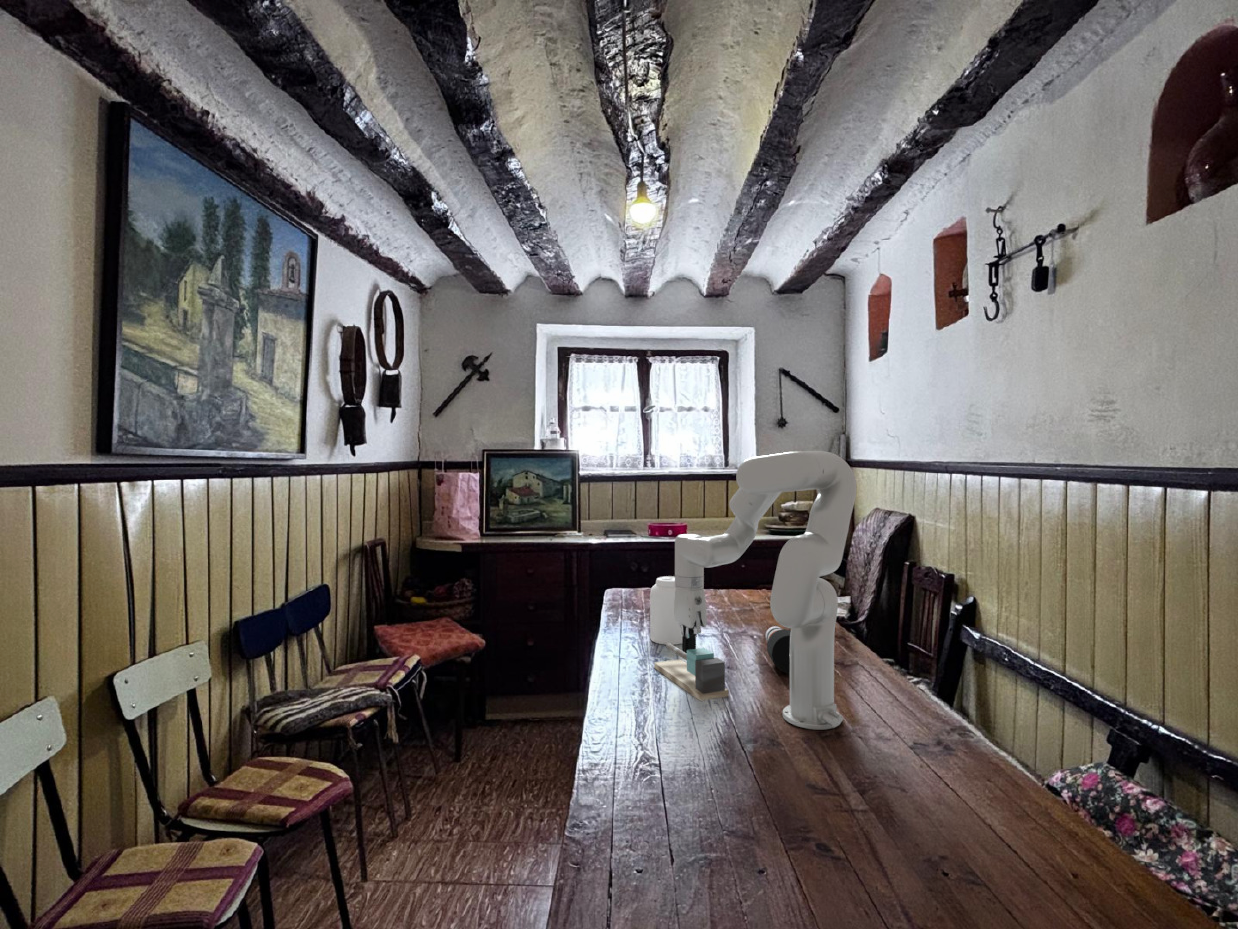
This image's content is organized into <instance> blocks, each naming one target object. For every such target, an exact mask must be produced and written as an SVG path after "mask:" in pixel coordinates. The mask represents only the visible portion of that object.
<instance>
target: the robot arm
mask: <svg viewBox="0 0 1238 929" xmlns="http://www.w3.org/2000/svg"><path fill="white" fill-rule="evenodd" d="M735 476H736V478H735V479H736V484H737V486H738V487H739V488H738V489H737V490H736V492H735V493H734V494H733V495H732V497H731V498H730V500H729V502H728V503H729V504H728V505H729V510H730V511H731V512H732V513H733V515H734V516H735V517H734V519H733V521H732V522H731V523H730V525H729V527H728V528H726V531H724V532H723V534H718V535H713V536H708V537H707V536H706V537H703V536H702V535H700V534H696V533H683V534H678V535H677V536H676V537H675V540H674V577H675V588H676V589H675V601H674V617H675V620H676V621H677V622H678V624H679V626H680V627H681V634H682V644H681V650H682V651H683V652H685V653H687V650H690V649H697V636H698V634H701V633H702V627H703V628H706V626H707V623H708V621H707V618H708V617H707V615H708V614H707V613H708V612H707V601H706V592H705V589H704V586H705V585H704V584H705V582H704V581H705V575H704V574H705V572H704V571H705V570H704V569H705V568H714V567H720V566H722V565H723V566H724V565H728V564H732V563H734V562H736V561H737V560H739V559H740V558H741V556H742V555H743V554H744V553H745V552H746V550H747V549H748V548H749V546H750V545H752V543H753V541H754V540H755V538H756V536H757V532H758V529H759V522H760V520H761V519H762V518H764V515H765V514H766V513H767V512H768V510H769V509H770V508H771V507H772V505H773V504H774V502H776V500H777V499H778V497H779V496H780V495H781V494H782V493H787V492H800V491H813V490H816V491H817V495H816V498H815V500H814V502H813V504H811V505H812V506H811V509H810V511H809V517H808V522H807V525H806V526H807V527H806V529H805V530H804V531H805V532H804V533H803V534H799V535H795V536H794V537H793V536H792V537H791V538H790V539H789V540H787V541H786V543H785V544H784V545H783V546H782V548H781V550H780V553H779V555H778V558H777V564H776V570H775V573H774V578H773V583H772V588H771V594H770V598H769V599H770V600H769V601H770V602H769V603H770V604H769V605H770V611H771V614H772V616H773V618H774V619H775V621H776V622H777V623H778V624H779V625H780V626H781V627H784V628H785V629H790V630H791V633H790V674H789V704H788V705H786V706H785V707H784V708H783V709H782V718H783V719H784V720H785V721H786V722H788V723H790V724H792V725H793V726H796V727H800V728H802V729H808V730H818V731H819V730H824V731H825V730H831V729H835V728H838V726H840V725H841V724H842V722H843V721H844V716H843V715H842V714H841V713H840V712H839V711H838V710H837V704H836V703H835V630H836V629H835V628H836V622H837V616H838V608H839V600H838V594H837V591H836V589H835V588H834V586H833V585H832V584H831V582H829V581H827V580H826V579H824V578H821V577H823V576H828V575H829V574H832V573H834V572H836V571H837V570H838V569H839V567H840V566H841V563H842V560H843V557H844V552H845V551H844V550H845V548H846V543H847V542H846V541H847V537H848V534H849V529H850V528H849V527H850V522H851V518H852V515H853V514H852V513H853V509H854V505H855V501H856V497H857V496H856V495H857V480H856V477H855V474H854V471H853V469H852V467H851V466H850V465H849V464H848V462H846V461H845V459H843V458H842V457H840V456H839V455H838V454H835V453H833V452H829V451H823V450H799V451H798V450H796V451H788V452H783V453H782V452H781V453H775V454H769V455H760V456H752V457H749V458H747V459H745V460H744V461H742V462H741V463H740V465H739V466H738V468H737V471H736V475H735Z"/></svg>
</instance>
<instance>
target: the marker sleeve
mask: <svg viewBox="0 0 1238 929" xmlns="http://www.w3.org/2000/svg"><path fill="white" fill-rule="evenodd" d="M709 658H715V653H714V652H713V651H711V650H709V649H707V648H706V647H700V648H696V649H690V650H687V660H686V663H687V671H688V672H690V673H691V674H693V675H694V676H695V660H701V659H709Z"/></svg>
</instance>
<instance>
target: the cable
mask: <svg viewBox="0 0 1238 929" xmlns="http://www.w3.org/2000/svg"><path fill="white" fill-rule="evenodd" d="M790 633H791V629H790V630H789V629H787V628H783V629H782V627H779V626H776V625H775V626H774V625H773V626H771V627H769V628H768V629H767V630H766V632H765V639H766V652H767V654H768V656H769V658H770V659H771V661H772V662H773V664H774V665H775V667H776V668H777V669H779V671H780V672H783V673H785V674H787V675H790Z"/></svg>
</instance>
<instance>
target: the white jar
mask: <svg viewBox="0 0 1238 929" xmlns="http://www.w3.org/2000/svg"><path fill="white" fill-rule="evenodd" d="M675 589H676V588H675V575H673V576H672V575H668V576H667V575H666V576H665V575H664V576H659V577H657V578H656V580H655V584H654V585H652V587H651V588H650V593H649V615H650V616H649V632H650V633H649V638H650V640H651V641H652V642H653V643H656V644H659V645H664V646H665V645H667V644H668V643H670V644H672V645H674V646H676V645H682V634H681V627H680V626H679V624H678V622H677V621H676V620H675V617H674V601H675Z"/></svg>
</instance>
